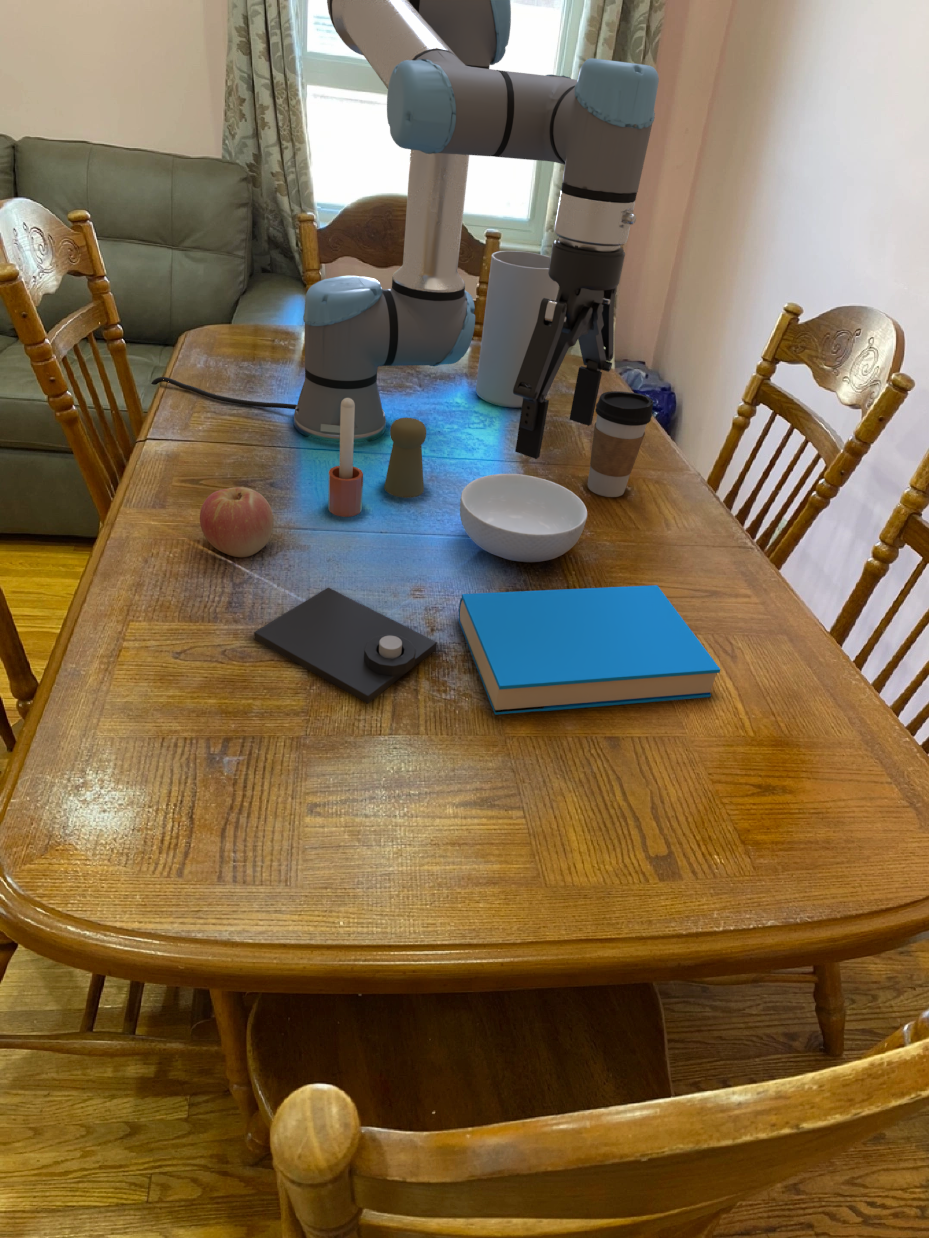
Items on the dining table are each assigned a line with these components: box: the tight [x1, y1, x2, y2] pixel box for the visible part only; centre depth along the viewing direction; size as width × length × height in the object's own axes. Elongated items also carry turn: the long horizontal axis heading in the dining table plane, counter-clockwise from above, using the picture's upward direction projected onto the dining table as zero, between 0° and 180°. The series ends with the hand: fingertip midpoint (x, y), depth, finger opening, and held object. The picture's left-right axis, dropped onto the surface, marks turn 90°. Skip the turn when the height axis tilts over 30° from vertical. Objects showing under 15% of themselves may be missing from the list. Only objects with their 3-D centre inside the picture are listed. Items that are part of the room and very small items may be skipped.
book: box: [458, 584, 721, 715], centre depth 93 cm, size 17×4×25 cm
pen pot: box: [327, 465, 364, 518], centre depth 113 cm, size 5×5×6 cm
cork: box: [384, 417, 427, 499], centre depth 119 cm, size 6×6×11 cm
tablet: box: [253, 587, 438, 704], centre depth 90 cm, size 17×12×2 cm
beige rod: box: [338, 398, 355, 479], centre depth 110 cm, size 2×2×16 cm
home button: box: [379, 636, 402, 659], centre depth 87 cm, size 2×2×1 cm
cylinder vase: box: [475, 250, 559, 409], centre depth 152 cm, size 12×12×25 cm
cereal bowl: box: [459, 473, 588, 563], centre depth 110 cm, size 17×17×7 cm
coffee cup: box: [587, 390, 654, 498], centre depth 126 cm, size 8×8×15 cm
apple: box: [199, 486, 275, 558], centre depth 102 cm, size 9×9×8 cm
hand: (555, 437), depth 96 cm, fingers open, 13 cm apart
